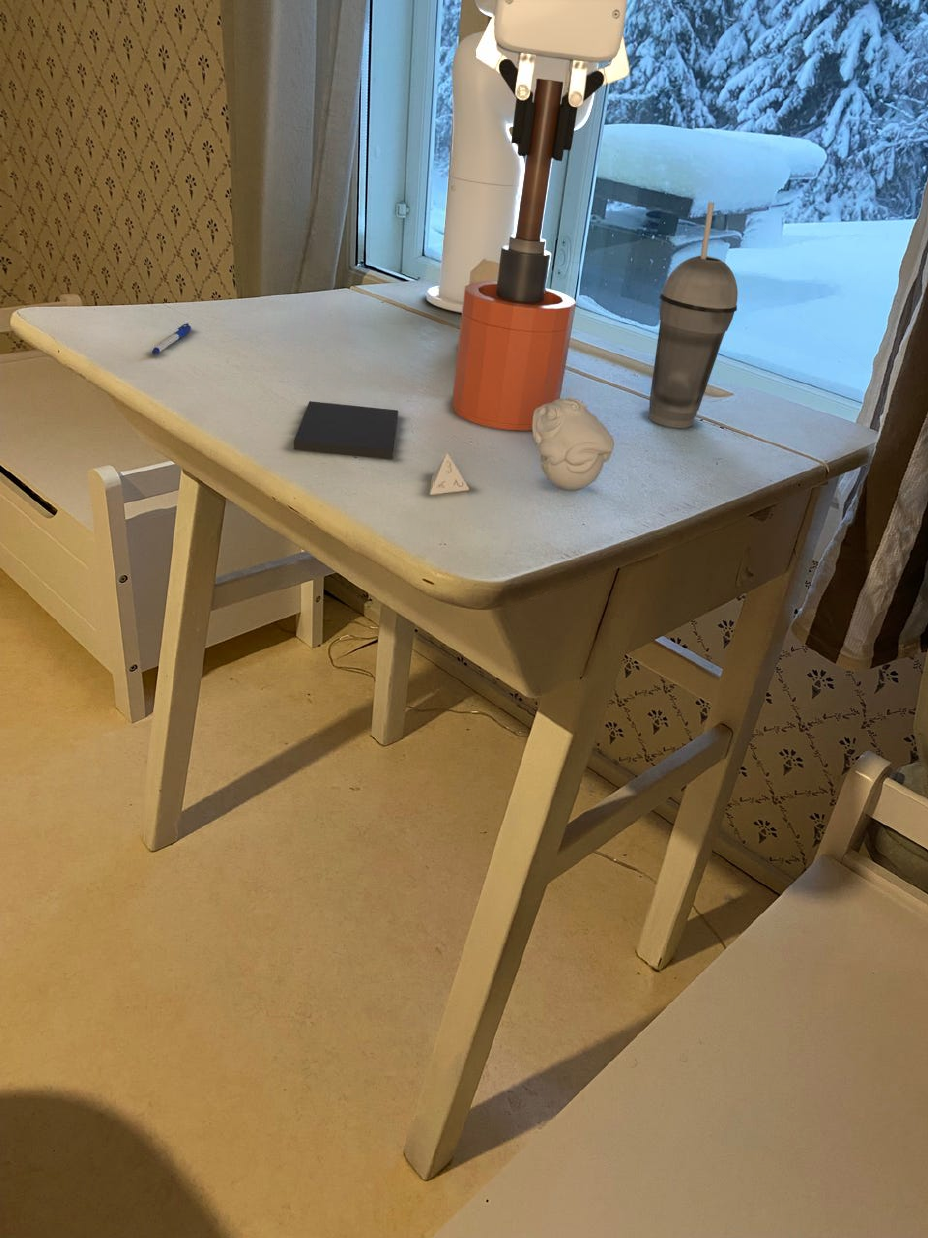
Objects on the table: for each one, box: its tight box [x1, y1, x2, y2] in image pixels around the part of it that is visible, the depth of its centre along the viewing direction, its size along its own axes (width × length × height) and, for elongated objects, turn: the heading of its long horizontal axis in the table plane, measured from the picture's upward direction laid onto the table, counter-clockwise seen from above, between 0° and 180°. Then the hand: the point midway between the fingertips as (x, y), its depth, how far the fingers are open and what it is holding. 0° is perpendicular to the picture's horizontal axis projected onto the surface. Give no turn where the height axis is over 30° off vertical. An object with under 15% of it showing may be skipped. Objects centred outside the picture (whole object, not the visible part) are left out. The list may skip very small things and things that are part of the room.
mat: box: [293, 400, 399, 460], centre depth 80 cm, size 10×8×1 cm
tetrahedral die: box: [429, 452, 470, 496], centre depth 71 cm, size 4×3×3 cm
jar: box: [451, 281, 577, 432], centre depth 87 cm, size 10×10×11 cm
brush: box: [496, 79, 563, 303], centre depth 79 cm, size 4×4×17 cm
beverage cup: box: [647, 201, 739, 429], centre depth 88 cm, size 7×7×20 cm
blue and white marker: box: [151, 322, 192, 355], centre depth 96 cm, size 10×1×1 cm, turn 177°
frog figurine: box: [531, 397, 615, 491], centre depth 73 cm, size 6×7×7 cm
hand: (539, 154), depth 78 cm, fingers closed on brush, 2 cm apart
